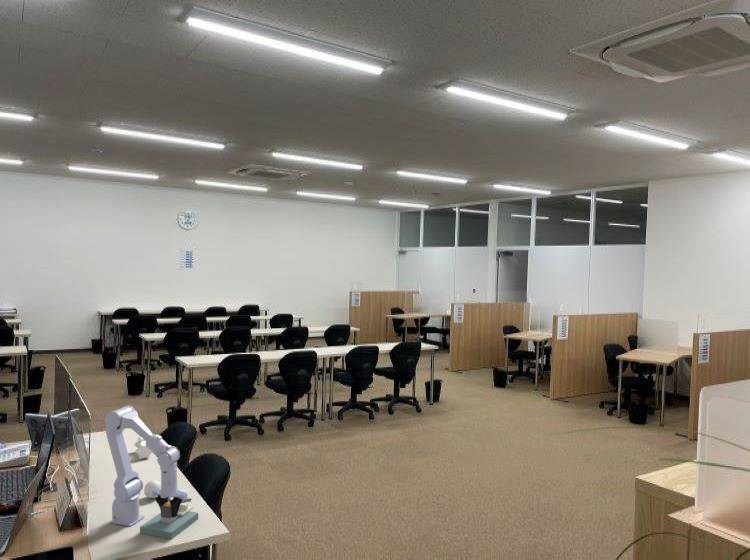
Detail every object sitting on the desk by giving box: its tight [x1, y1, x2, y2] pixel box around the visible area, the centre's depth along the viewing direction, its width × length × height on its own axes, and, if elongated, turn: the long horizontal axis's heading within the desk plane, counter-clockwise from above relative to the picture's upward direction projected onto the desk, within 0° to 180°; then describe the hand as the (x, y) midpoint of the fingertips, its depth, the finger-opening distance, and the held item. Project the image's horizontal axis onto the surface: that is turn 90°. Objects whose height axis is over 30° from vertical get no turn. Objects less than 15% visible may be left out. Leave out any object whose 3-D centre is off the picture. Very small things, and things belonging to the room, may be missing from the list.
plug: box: [160, 501, 177, 524], centre depth 206 cm, size 4×4×7 cm
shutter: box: [177, 502, 194, 516], centre depth 213 cm, size 6×6×3 cm
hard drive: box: [169, 486, 193, 503], centre depth 232 cm, size 2×8×12 cm
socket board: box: [139, 510, 199, 540], centre depth 207 cm, size 14×16×2 cm
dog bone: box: [134, 436, 152, 460], centre depth 281 cm, size 15×9×8 cm, turn 25°
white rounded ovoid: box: [143, 479, 161, 499], centre depth 233 cm, size 10×7×7 cm
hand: (169, 515), depth 207 cm, fingers closed on plug, 4 cm apart
